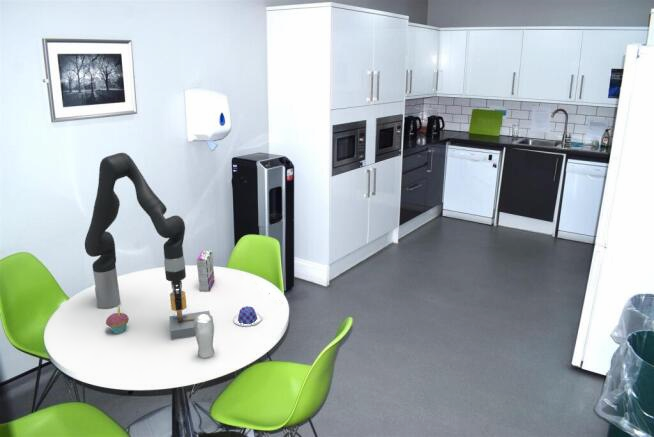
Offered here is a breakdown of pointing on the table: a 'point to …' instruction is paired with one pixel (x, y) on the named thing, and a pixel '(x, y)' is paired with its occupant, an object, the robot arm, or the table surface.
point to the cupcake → (117, 321)
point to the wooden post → (179, 316)
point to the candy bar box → (205, 270)
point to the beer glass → (204, 335)
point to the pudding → (247, 316)
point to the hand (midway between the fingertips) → (178, 305)
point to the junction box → (184, 325)
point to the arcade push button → (173, 304)
